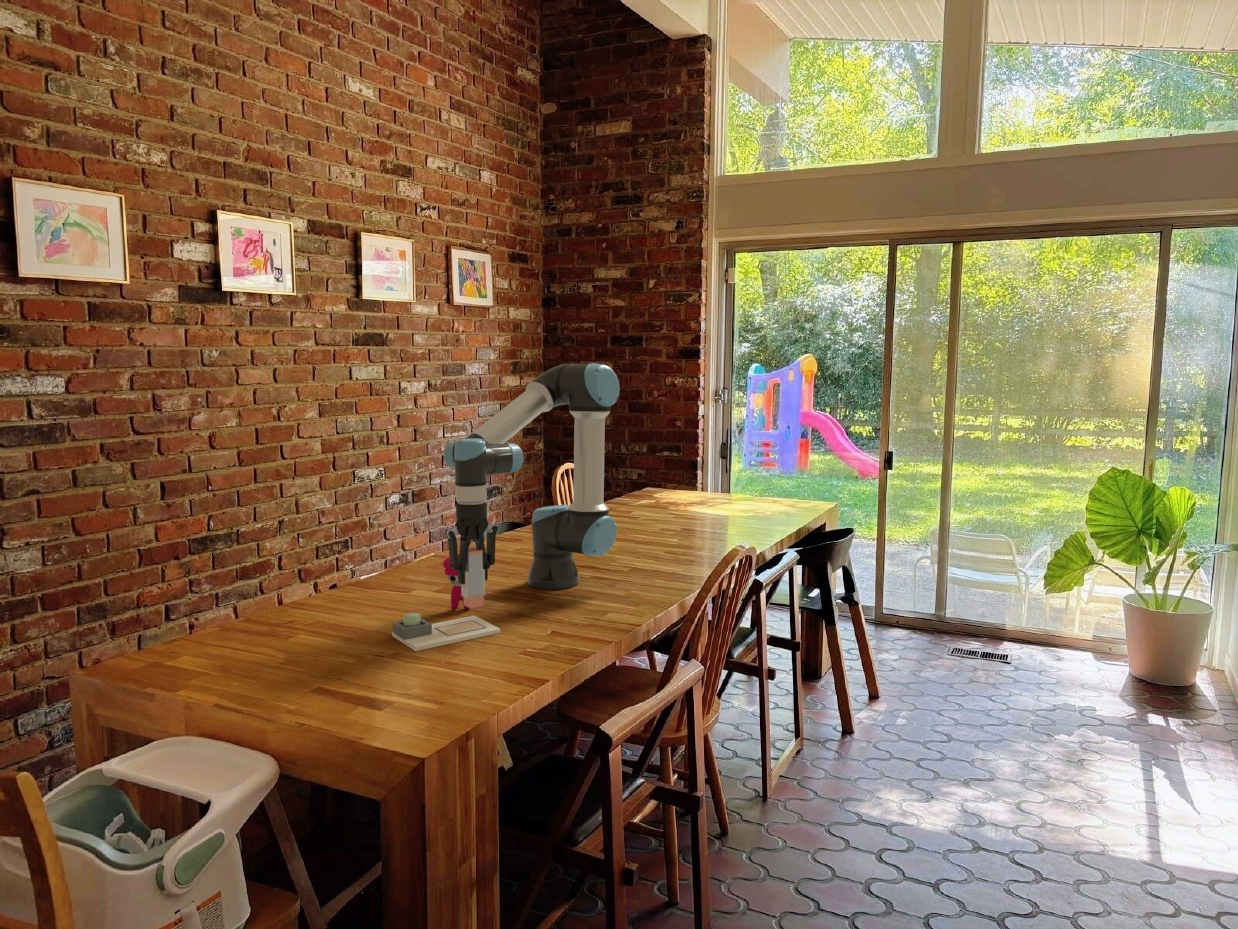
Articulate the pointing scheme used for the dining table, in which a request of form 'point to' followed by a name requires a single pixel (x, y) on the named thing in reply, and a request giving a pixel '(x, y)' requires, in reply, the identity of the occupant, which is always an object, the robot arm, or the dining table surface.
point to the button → (411, 620)
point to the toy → (456, 589)
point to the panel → (442, 632)
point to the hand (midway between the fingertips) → (473, 595)
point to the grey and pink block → (475, 578)
